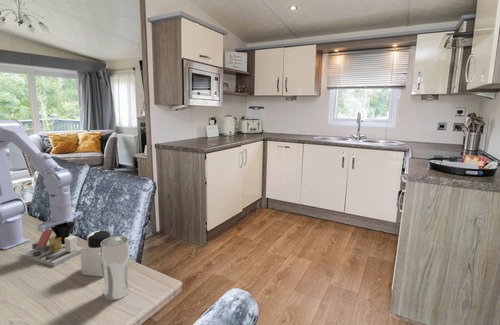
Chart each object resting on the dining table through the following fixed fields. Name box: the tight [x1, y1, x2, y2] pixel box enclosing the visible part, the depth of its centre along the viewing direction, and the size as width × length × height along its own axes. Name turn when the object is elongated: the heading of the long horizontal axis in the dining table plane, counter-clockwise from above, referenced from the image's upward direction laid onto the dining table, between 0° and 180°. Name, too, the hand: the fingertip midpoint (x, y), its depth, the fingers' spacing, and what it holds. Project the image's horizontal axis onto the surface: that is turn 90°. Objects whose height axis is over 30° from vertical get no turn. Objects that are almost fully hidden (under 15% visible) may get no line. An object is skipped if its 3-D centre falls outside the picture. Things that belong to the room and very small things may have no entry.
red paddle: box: [35, 228, 54, 250], centre depth 93 cm, size 4×1×7 cm, turn 72°
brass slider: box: [48, 235, 62, 252], centre depth 91 cm, size 2×2×4 cm
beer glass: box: [100, 235, 131, 301], centre depth 72 cm, size 7×7×15 cm
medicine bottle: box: [80, 230, 111, 278], centre depth 83 cm, size 7×7×12 cm
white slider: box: [65, 235, 78, 252], centre depth 91 cm, size 2×2×4 cm
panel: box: [22, 242, 86, 267], centre depth 92 cm, size 15×11×3 cm
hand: (63, 243), depth 94 cm, fingers closed
